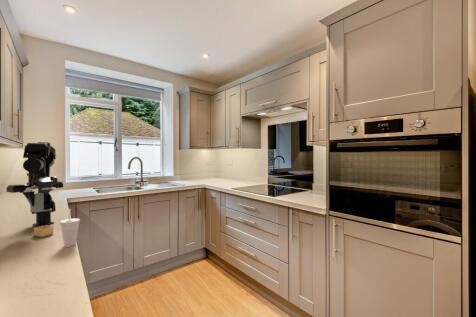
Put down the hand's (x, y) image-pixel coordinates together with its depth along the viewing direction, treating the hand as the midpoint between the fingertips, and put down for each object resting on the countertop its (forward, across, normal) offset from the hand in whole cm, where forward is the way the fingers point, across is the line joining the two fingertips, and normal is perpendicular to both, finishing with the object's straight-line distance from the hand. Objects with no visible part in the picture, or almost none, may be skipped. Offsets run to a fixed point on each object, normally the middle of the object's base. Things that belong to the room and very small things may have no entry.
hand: (37, 205), depth 102 cm
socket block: (+12, 0, -5) cm, 13 cm away
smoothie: (+13, -2, -28) cm, 31 cm away
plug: (+2, 0, 0) cm, 2 cm away
